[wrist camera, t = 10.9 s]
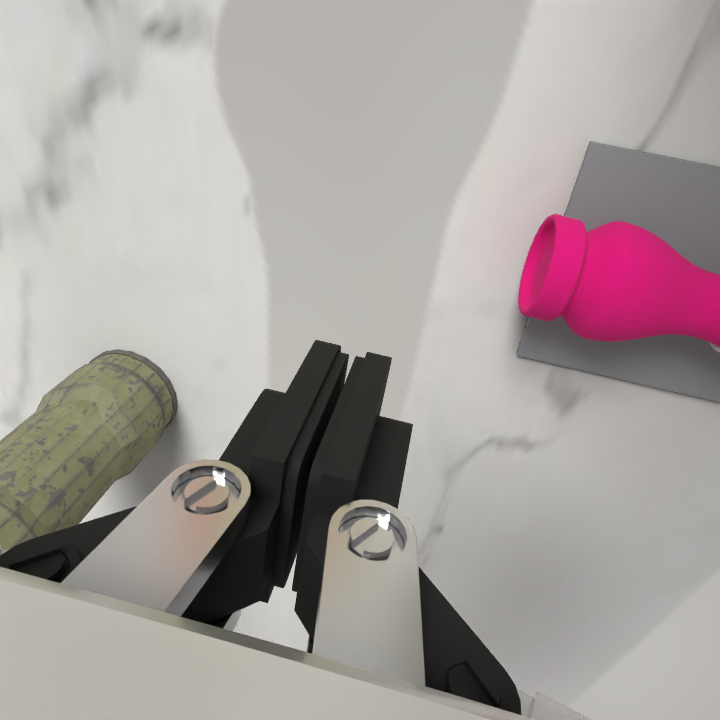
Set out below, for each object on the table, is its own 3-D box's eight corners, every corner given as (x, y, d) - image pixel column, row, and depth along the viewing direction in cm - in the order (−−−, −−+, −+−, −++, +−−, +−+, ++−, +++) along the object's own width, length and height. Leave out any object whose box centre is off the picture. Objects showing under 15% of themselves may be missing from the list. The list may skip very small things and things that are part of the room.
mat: (589, 141, 35) (591, 142, 34) (916, 205, 33) (922, 208, 33) (516, 352, 42) (516, 355, 42) (779, 412, 41) (783, 416, 40)
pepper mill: (572, 200, 30) (942, 289, 30) (538, 208, 37) (837, 280, 37) (532, 331, 32) (883, 416, 31) (507, 315, 39) (794, 384, 38)
